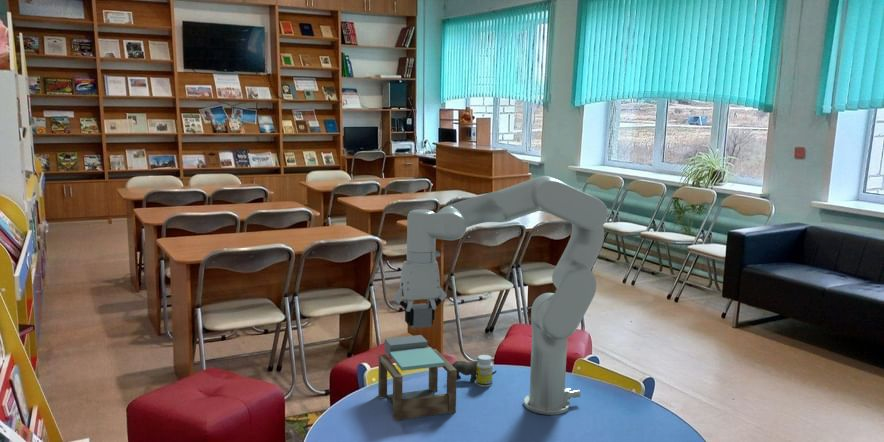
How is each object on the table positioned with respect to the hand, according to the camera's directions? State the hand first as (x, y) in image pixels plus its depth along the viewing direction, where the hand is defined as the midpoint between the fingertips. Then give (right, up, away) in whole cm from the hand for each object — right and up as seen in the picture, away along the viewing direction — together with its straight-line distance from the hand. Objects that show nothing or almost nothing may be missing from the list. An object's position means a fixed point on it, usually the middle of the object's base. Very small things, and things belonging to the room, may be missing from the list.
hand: (419, 323), depth 183 cm
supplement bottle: (+18, -21, +21) cm, 35 cm away
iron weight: (0, 0, 0) cm, 0 cm away
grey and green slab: (-2, -12, +8) cm, 15 cm away
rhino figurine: (+15, -21, +24) cm, 35 cm away
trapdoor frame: (-1, -23, +7) cm, 24 cm away
